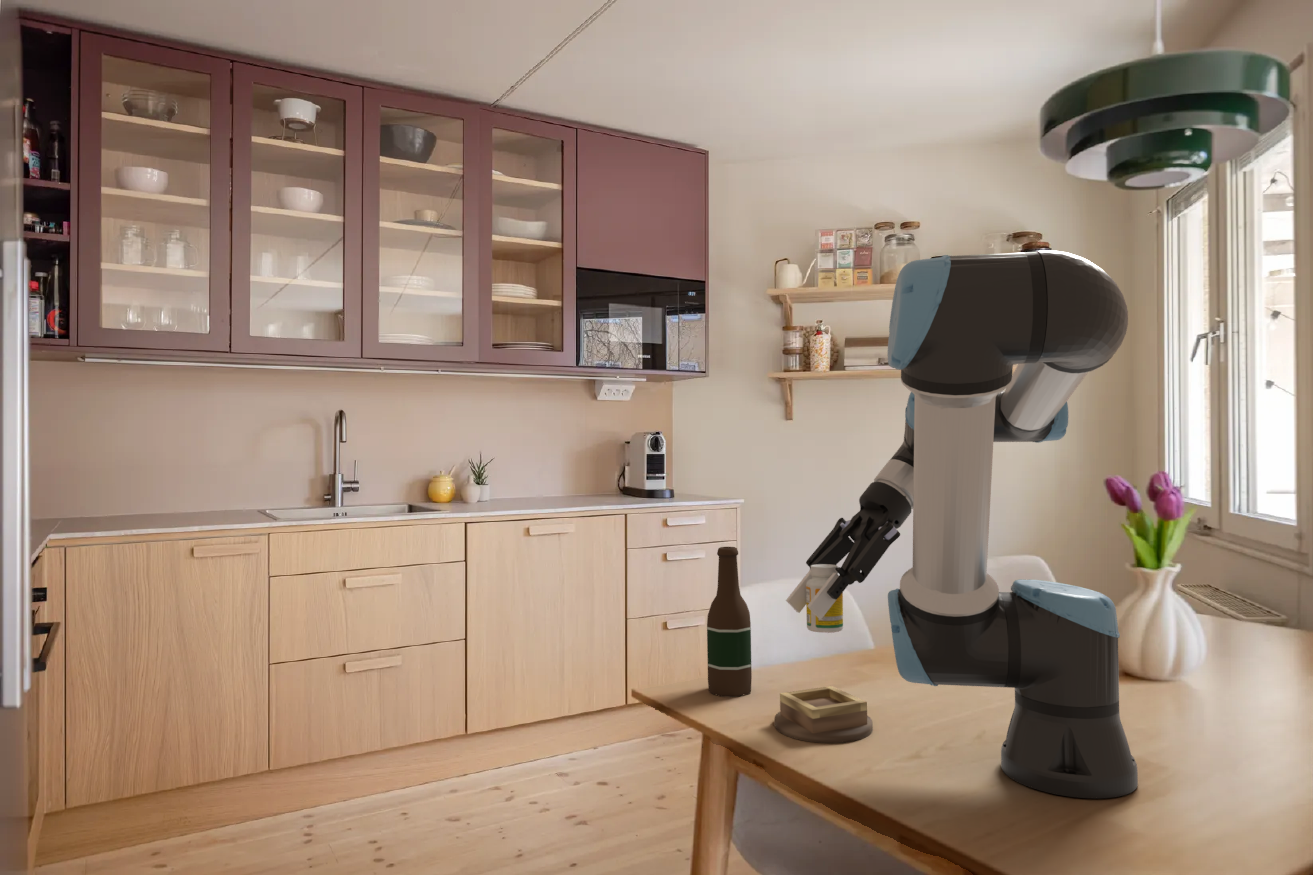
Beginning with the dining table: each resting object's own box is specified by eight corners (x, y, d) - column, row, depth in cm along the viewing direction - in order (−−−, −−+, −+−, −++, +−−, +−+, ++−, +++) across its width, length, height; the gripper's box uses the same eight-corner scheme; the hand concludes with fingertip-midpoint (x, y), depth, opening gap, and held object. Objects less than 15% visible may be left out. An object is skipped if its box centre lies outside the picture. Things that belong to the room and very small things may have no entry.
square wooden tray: (892, 734, 122) (892, 704, 122) (807, 748, 116) (806, 717, 116) (836, 706, 135) (836, 679, 135) (757, 718, 129) (756, 690, 129)
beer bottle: (715, 699, 140) (713, 551, 140) (700, 686, 147) (698, 546, 147) (760, 694, 142) (758, 548, 142) (743, 682, 149) (740, 543, 149)
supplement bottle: (799, 629, 130) (798, 565, 130) (822, 625, 133) (821, 562, 133) (827, 634, 125) (826, 568, 126) (851, 629, 129) (849, 565, 129)
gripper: (946, 515, 127) (854, 637, 120) (871, 510, 144) (787, 616, 137) (916, 479, 125) (821, 601, 118) (844, 478, 142) (757, 585, 136)
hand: (803, 609), depth 128 cm, fingers closed on supplement bottle, 5 cm apart
